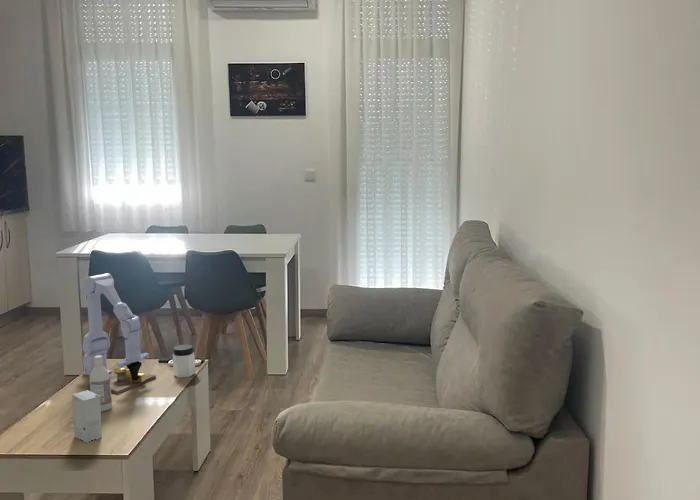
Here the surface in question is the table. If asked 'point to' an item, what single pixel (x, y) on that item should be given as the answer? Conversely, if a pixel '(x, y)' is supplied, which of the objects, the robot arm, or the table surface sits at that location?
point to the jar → (183, 361)
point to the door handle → (129, 374)
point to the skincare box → (87, 416)
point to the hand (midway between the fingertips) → (134, 379)
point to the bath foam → (101, 383)
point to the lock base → (125, 382)
